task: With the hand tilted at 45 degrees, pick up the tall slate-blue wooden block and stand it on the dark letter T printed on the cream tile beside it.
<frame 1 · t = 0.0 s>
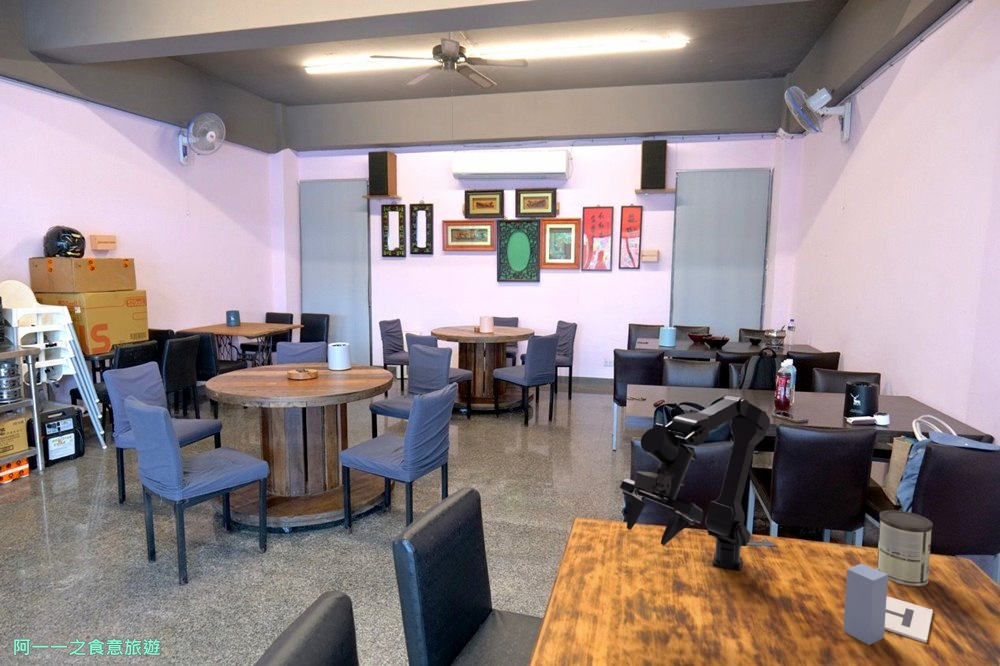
hand: (644, 536, 124), 15 cm above the table, tool tilted 35°, fingers open, 9 cm apart
coffee can: (901, 576, 138), on the table
letter tile: (888, 613, 121), on the table
slate blue block: (863, 634, 114), on the table
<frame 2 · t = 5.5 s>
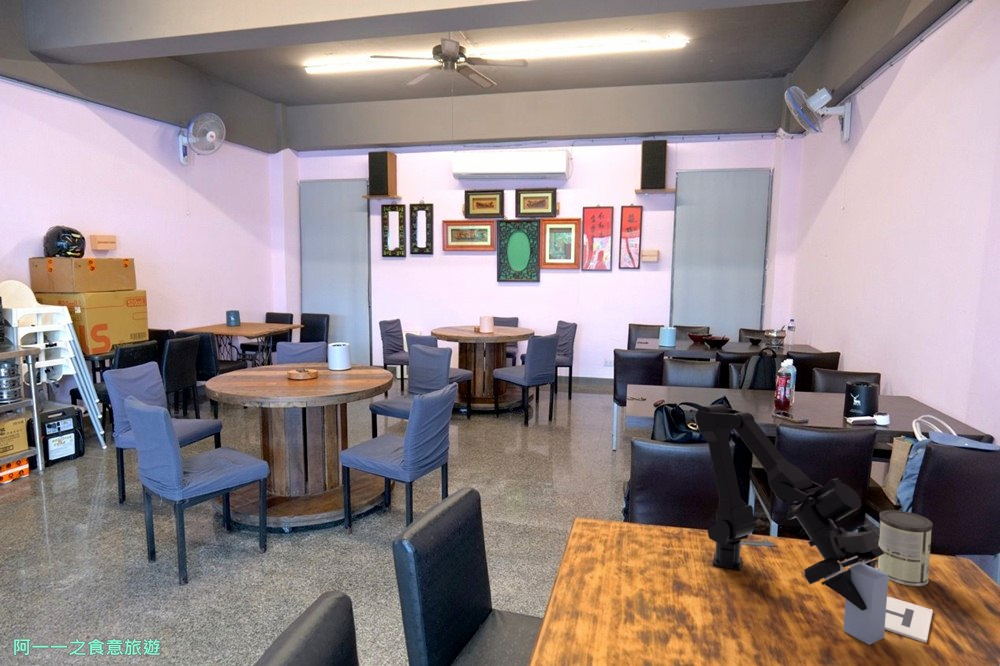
hand: (872, 606, 112), 7 cm above the table, tool tilted 45°, fingers closed on slate blue block, 5 cm apart
slate blue block: (863, 634, 114), on the table, touching gripper
everything else where it was.
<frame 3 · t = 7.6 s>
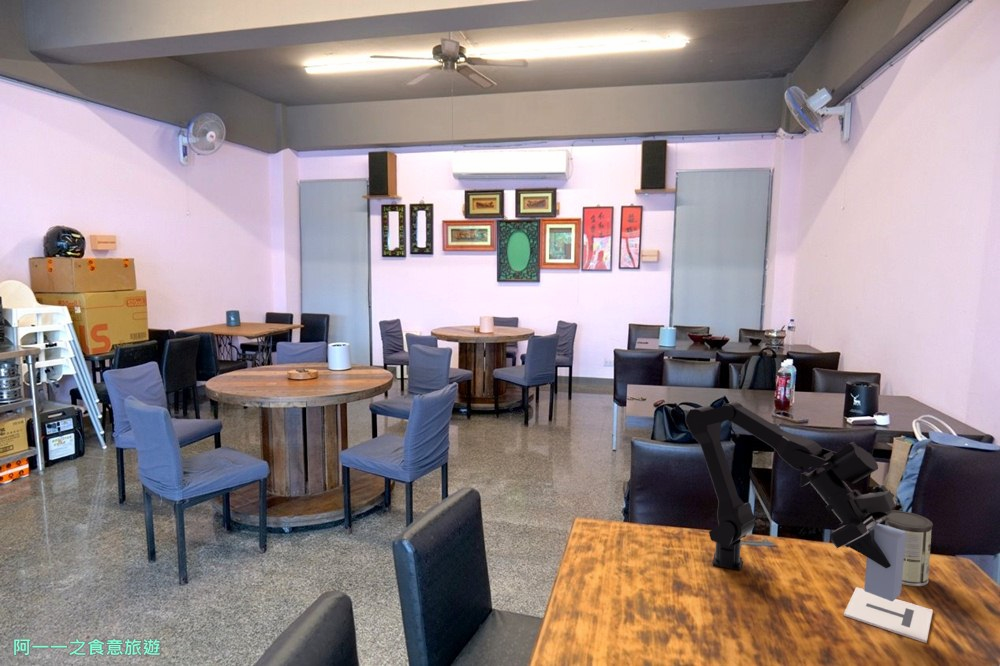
hand: (892, 563, 116), 13 cm above the table, tool tilted 45°, fingers closed on slate blue block, 5 cm apart
slate blue block: (882, 592, 117), point 7 cm above the table, touching gripper
everything else where it was.
when the fingers open (8 cm above the table, at t = 9.8 s): slate blue block stays where it is, resting on letter tile.
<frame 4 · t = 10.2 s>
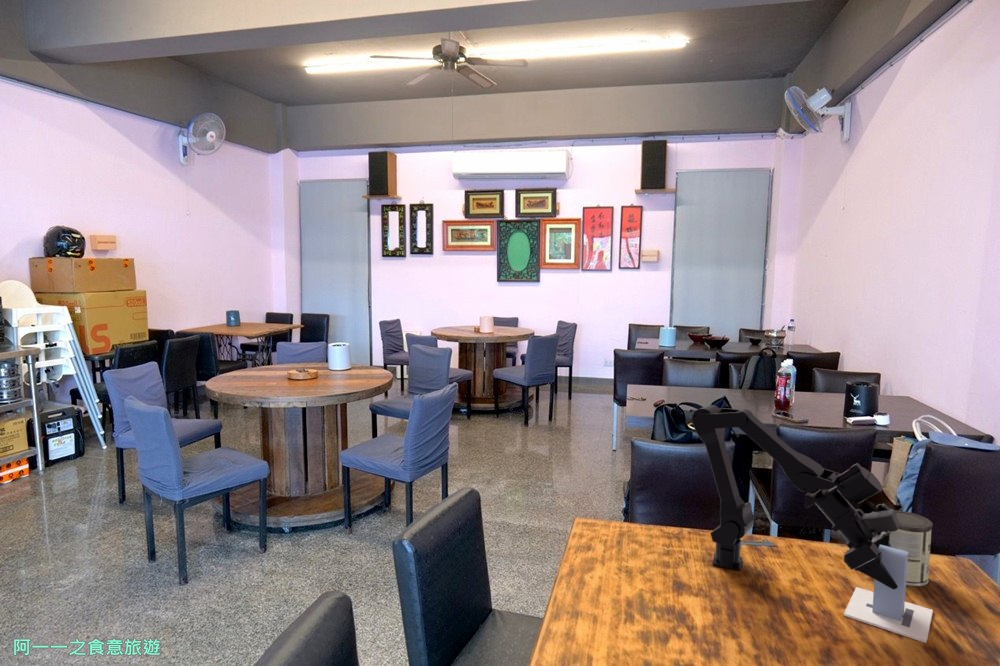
hand: (899, 579, 120), 8 cm above the table, tool tilted 45°, fingers open, 9 cm apart
slate blue block: (888, 611, 121), point 1 cm above the table, touching letter tile
everything else where it was.
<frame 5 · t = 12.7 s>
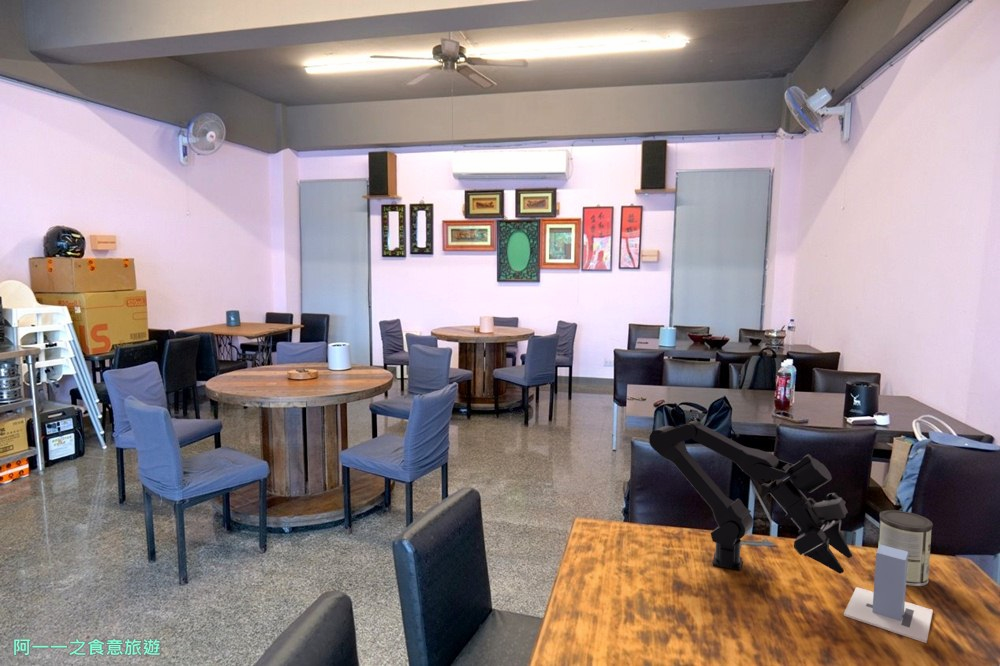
hand: (846, 564, 126), 8 cm above the table, tool tilted 45°, fingers open, 9 cm apart
nothing on the table moved.
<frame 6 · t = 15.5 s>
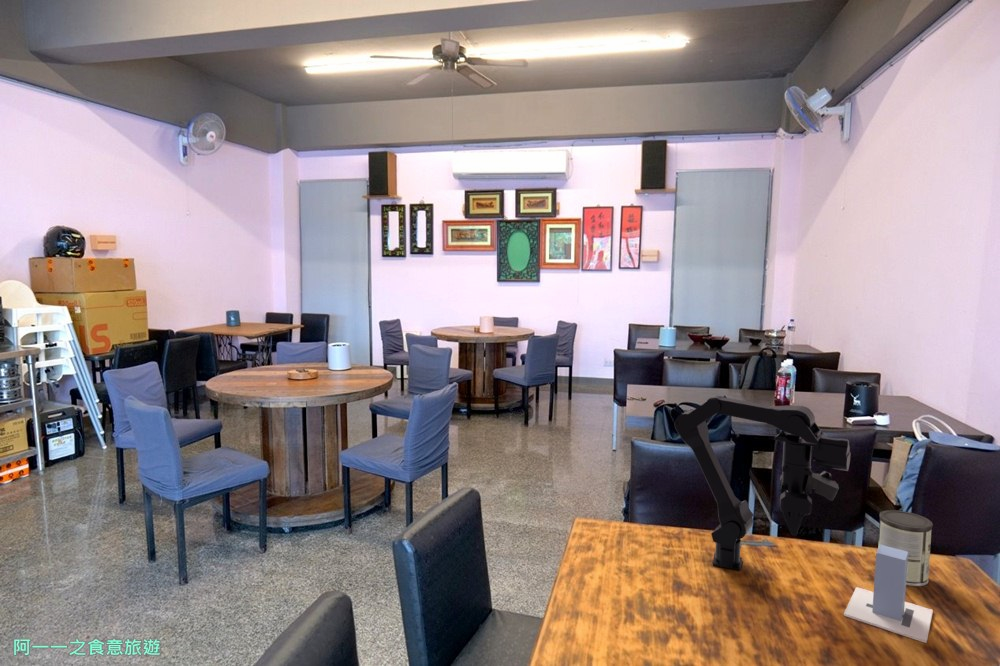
hand: (793, 527, 133), 13 cm above the table, tool pointing down, fingers open, 9 cm apart
nothing on the table moved.
at the end: slate blue block 0.1 cm off-centre on the letter tile, point 0.5 cm above the letter tile's base; slate blue block tilted 0°; the gripper is holding nothing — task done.
